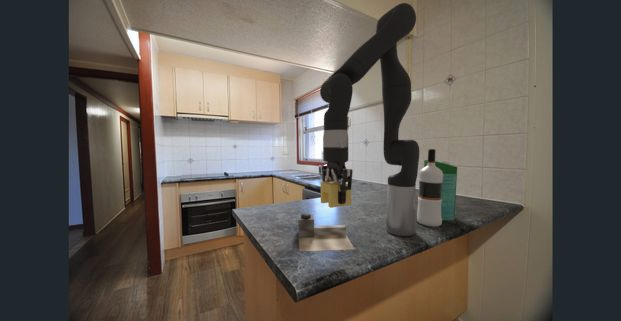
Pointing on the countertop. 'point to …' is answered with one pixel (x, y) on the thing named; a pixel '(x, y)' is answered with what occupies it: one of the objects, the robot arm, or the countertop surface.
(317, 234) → the peg board base
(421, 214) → the vodka
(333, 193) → the yellow cube with hole
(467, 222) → the countertop surface
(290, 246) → the countertop surface
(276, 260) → the countertop surface
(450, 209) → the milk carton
